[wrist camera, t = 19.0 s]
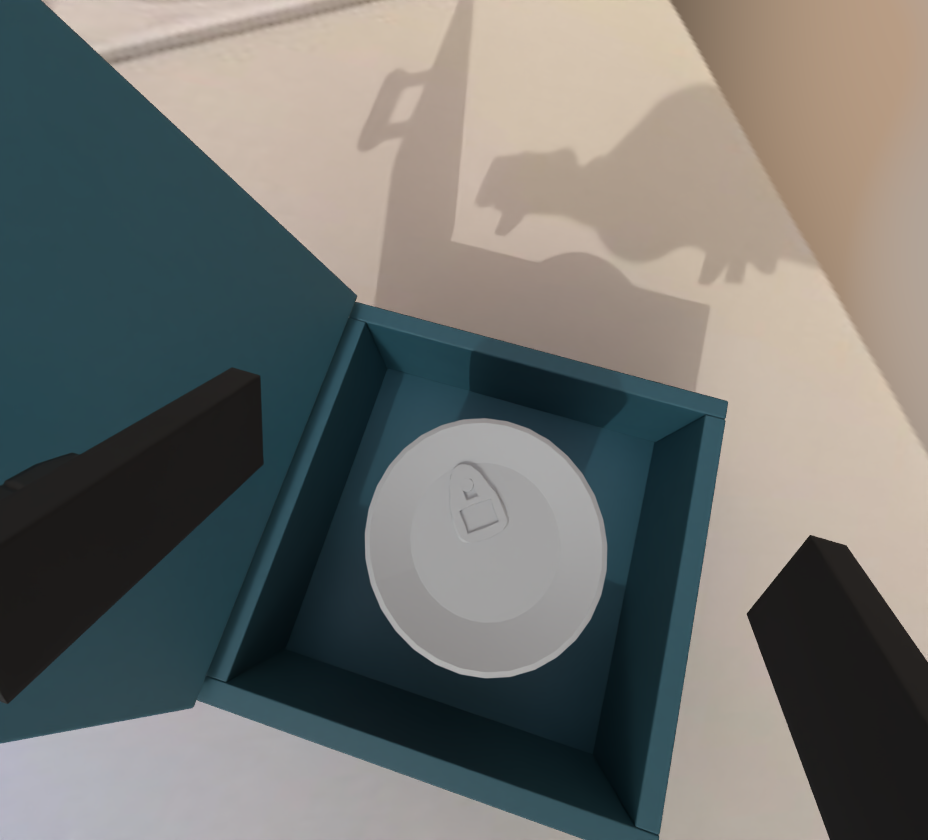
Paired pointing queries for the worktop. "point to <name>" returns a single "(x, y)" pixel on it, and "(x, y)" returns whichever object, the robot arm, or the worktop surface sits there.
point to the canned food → (486, 548)
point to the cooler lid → (138, 345)
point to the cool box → (439, 689)
